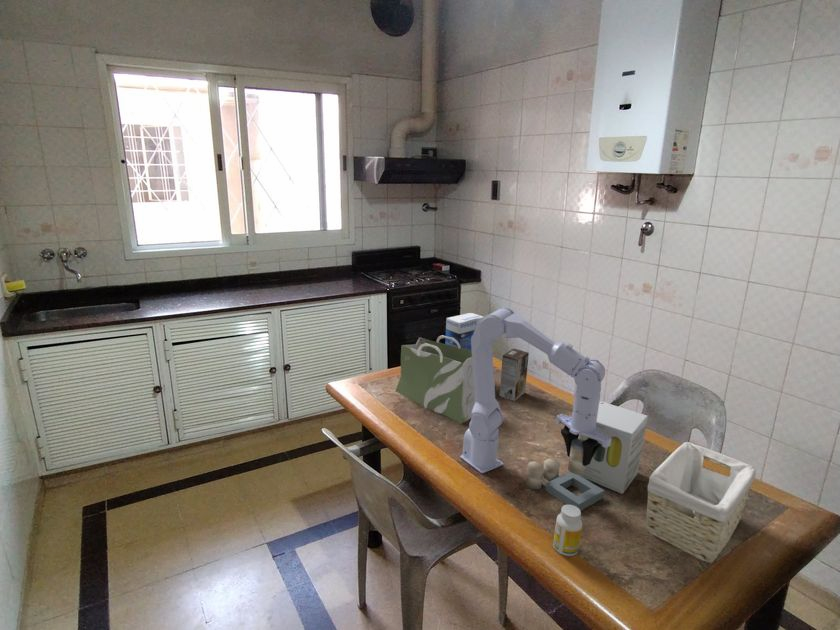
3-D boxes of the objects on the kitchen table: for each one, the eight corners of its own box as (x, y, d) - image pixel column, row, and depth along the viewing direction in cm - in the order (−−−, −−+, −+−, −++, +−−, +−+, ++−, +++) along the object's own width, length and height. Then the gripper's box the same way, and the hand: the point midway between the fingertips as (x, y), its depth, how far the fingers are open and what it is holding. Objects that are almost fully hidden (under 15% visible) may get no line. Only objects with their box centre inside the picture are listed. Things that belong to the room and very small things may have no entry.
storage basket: (713, 572, 102) (728, 512, 98) (635, 531, 113) (645, 475, 109) (746, 520, 118) (760, 466, 114) (675, 489, 129) (685, 438, 125)
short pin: (539, 475, 133) (541, 461, 132) (549, 470, 135) (550, 457, 134) (551, 482, 130) (552, 469, 129) (561, 477, 132) (562, 464, 131)
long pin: (564, 467, 124) (568, 441, 122) (576, 463, 126) (579, 437, 124) (576, 476, 121) (580, 449, 118) (588, 472, 122) (592, 445, 120)
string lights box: (467, 374, 198) (471, 312, 190) (480, 380, 192) (485, 316, 185) (442, 381, 189) (445, 317, 182) (456, 388, 184) (460, 322, 177)
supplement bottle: (548, 547, 107) (553, 510, 104) (560, 535, 111) (565, 498, 108) (571, 561, 104) (577, 522, 101) (582, 547, 107) (588, 510, 105)
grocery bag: (392, 392, 179) (393, 331, 173) (419, 382, 189) (421, 324, 182) (459, 425, 158) (464, 357, 151) (486, 411, 167) (491, 347, 161)
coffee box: (509, 388, 186) (513, 348, 181) (525, 393, 182) (529, 352, 178) (498, 396, 179) (502, 354, 174) (514, 401, 175) (518, 359, 171)
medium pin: (522, 482, 129) (524, 464, 128) (533, 477, 132) (535, 459, 130) (534, 490, 126) (536, 472, 125) (544, 485, 128) (547, 467, 127)
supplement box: (572, 474, 134) (580, 416, 129) (591, 454, 144) (599, 399, 139) (622, 495, 126) (633, 433, 121) (638, 472, 135) (649, 415, 131)
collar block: (545, 490, 126) (546, 483, 126) (570, 477, 132) (571, 470, 131) (577, 512, 119) (578, 504, 118) (603, 497, 124) (604, 490, 124)
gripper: (550, 402, 122) (544, 451, 126) (601, 427, 111) (593, 479, 115) (569, 395, 126) (563, 443, 130) (619, 419, 115) (611, 470, 119)
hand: (578, 459), depth 123 cm, fingers closed on long pin, 4 cm apart
